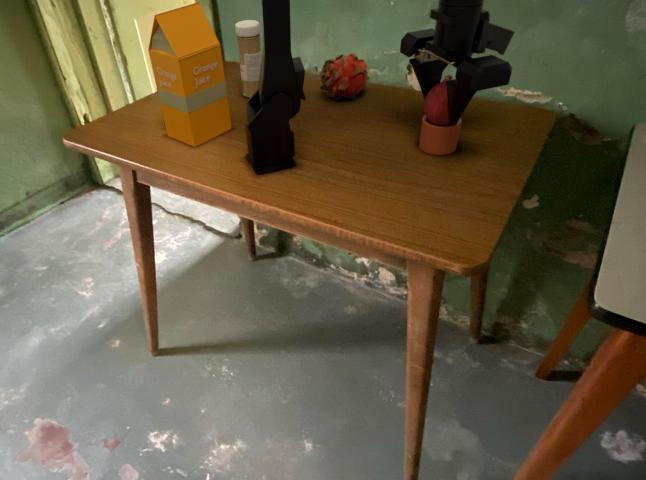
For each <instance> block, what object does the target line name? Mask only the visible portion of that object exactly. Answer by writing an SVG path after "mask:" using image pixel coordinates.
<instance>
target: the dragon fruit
mask: <svg viewBox="0 0 646 480" xmlns="http://www.w3.org/2000/svg"><path fill="white" fill-rule="evenodd" d="M367 68H368V65H367V62H366V61H365V60H364V59H363V58H359V57H358V56H357V55H356V54H355V53H349V54H348V55H347V56H346V55H344V54H340V55H338V56H335V58H329V59H327V60H325V61H324V64H323V65H322V70H321V71H320V73H319V79H320V81H321V86H319V89H320V90H321V91H323V92H326V96H327V97H330V98H334V100H336V101H338V100H340V99H341V98H342V97H345V98H346V99H351V100H354V99H355V98H356V95H360V93H361V91H362V90H363V88H364V87H365V86H366V83H367V81H368V80H369V79H370V77H369V76H368V71H367Z"/></svg>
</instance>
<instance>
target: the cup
mask: <svg viewBox="0 0 646 480" xmlns="http://www.w3.org/2000/svg"><path fill="white" fill-rule="evenodd" d="M462 122H463V121H462V118H461V117H460V119H459V121H458V122H457V123H454V124H451V123H450V124H448V125H446V126H444V127H441V126H435V125H434V124H432V123H431V122H430V121H429V119H428V118H427V117H426V115H425V114H424V115H423V117H422V118H421V125H420V133H419V140H418V148H419V149H420V150H421V151H422V152H424V153H427V154H430V155H435V156H444V155H445V156H446V155H449V154H450V155H451V154H452V153H454V152H455V151H456V150H457V147H458V143H459V137H460V133H461V128H462V124H463V123H462Z"/></svg>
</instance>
